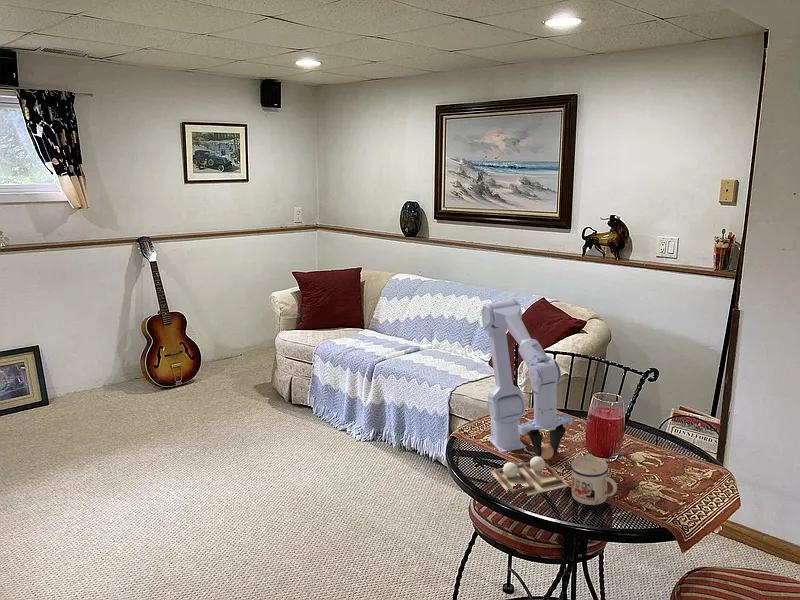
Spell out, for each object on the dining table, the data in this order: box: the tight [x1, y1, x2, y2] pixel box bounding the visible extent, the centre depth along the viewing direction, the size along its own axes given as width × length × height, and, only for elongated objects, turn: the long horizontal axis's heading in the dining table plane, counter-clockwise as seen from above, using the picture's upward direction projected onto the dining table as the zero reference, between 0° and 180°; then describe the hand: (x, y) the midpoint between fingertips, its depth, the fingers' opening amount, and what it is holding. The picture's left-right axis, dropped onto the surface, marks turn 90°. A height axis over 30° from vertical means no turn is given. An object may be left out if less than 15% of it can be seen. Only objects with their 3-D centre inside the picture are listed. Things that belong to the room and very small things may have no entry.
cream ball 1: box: [502, 461, 518, 478], centre depth 180 cm, size 4×4×4 cm
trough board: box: [489, 460, 570, 497], centre depth 179 cm, size 15×16×1 cm
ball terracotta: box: [541, 443, 555, 460], centre depth 175 cm, size 4×4×4 cm
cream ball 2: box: [529, 455, 546, 472], centre depth 181 cm, size 4×4×4 cm
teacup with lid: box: [570, 453, 618, 506], centre depth 166 cm, size 12×9×12 cm
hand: (545, 453), depth 175 cm, fingers closed on ball terracotta, 4 cm apart
